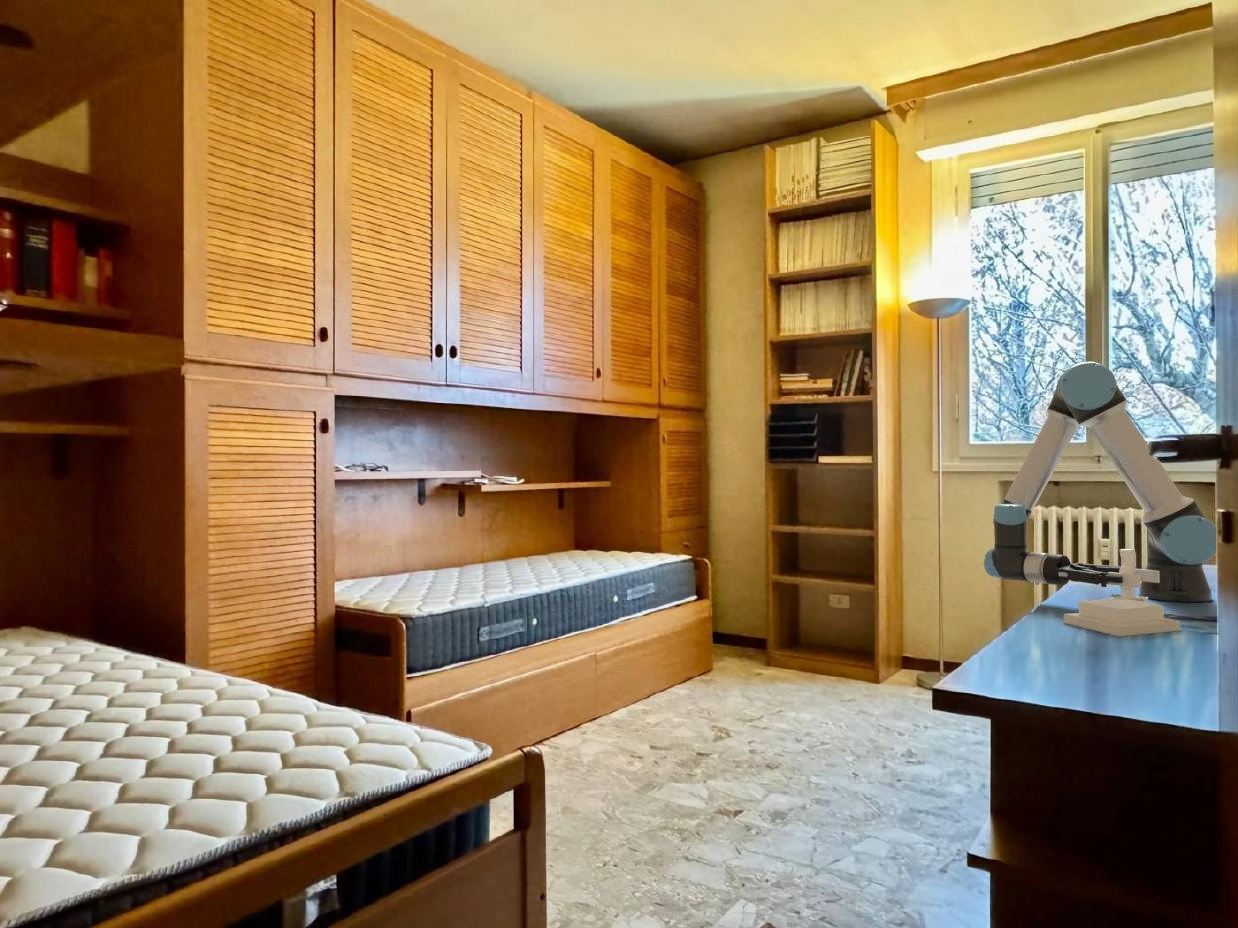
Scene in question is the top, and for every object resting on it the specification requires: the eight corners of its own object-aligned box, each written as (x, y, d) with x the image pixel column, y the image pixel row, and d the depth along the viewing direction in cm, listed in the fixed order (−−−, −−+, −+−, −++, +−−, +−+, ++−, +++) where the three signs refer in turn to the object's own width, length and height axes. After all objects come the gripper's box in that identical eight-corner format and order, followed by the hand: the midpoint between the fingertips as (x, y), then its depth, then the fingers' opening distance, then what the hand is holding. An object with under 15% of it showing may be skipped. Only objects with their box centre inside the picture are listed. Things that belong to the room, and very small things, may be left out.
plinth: (1122, 617, 181) (1121, 595, 181) (1180, 630, 168) (1180, 606, 167) (1064, 622, 177) (1063, 600, 177) (1119, 636, 163) (1118, 611, 163)
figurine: (1106, 615, 184) (1105, 549, 184) (1113, 608, 191) (1112, 545, 191) (1144, 618, 179) (1143, 551, 179) (1149, 612, 187) (1148, 547, 186)
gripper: (1070, 579, 206) (1170, 590, 188) (1025, 588, 194) (1127, 601, 175) (1070, 550, 206) (1169, 558, 188) (1025, 557, 194) (1127, 567, 175)
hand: (1149, 579), depth 181 cm, fingers closed on figurine, 9 cm apart
